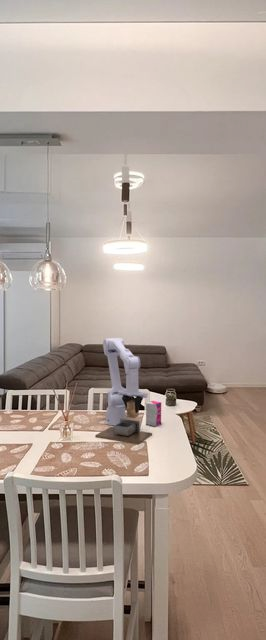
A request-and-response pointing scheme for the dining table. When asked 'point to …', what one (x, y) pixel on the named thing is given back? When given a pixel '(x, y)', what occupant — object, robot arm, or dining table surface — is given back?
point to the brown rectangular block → (131, 410)
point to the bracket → (125, 432)
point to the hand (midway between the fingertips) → (132, 411)
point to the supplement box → (153, 413)
